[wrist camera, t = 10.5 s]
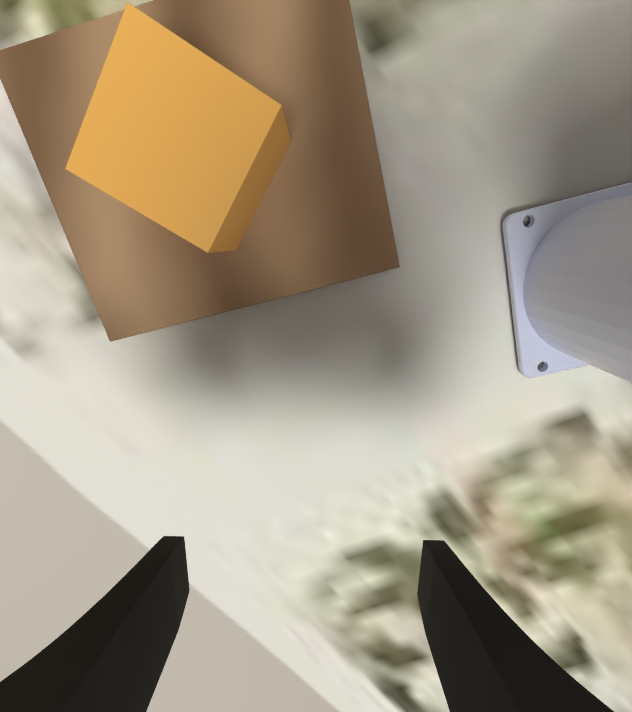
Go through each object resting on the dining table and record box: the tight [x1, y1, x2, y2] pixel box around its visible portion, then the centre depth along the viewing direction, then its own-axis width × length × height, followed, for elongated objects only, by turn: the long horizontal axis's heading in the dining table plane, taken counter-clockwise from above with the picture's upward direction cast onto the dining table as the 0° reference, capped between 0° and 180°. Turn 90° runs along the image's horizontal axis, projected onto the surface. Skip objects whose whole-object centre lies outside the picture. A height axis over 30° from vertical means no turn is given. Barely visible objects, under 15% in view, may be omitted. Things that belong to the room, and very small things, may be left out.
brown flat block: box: [0, 0, 400, 341], centre depth 15 cm, size 14×12×4 cm
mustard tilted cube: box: [65, 2, 291, 253], centre depth 14 cm, size 5×5×4 cm
